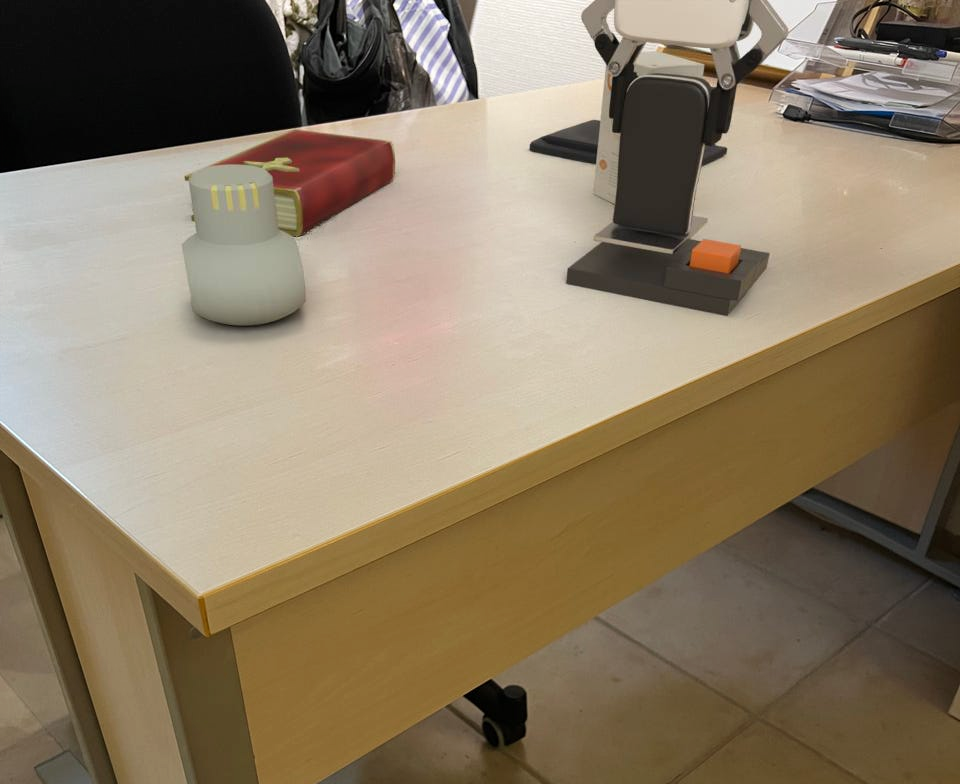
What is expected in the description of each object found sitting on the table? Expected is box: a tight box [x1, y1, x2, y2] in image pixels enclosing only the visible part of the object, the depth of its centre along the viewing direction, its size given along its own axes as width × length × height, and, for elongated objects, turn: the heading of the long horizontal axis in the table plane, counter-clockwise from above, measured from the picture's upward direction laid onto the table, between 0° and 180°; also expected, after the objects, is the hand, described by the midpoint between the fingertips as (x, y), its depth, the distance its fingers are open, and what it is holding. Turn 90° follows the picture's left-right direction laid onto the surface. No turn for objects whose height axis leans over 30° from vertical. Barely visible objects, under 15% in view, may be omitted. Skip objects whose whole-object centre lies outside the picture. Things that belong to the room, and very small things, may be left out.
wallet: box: [528, 119, 728, 166], centre depth 114 cm, size 20×2×15 cm
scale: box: [565, 238, 770, 317], centre depth 81 cm, size 14×13×3 cm
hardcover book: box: [184, 129, 396, 237], centre depth 95 cm, size 12×21×4 cm, turn 159°
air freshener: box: [181, 165, 307, 327], centre depth 70 cm, size 11×8×10 cm
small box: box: [592, 50, 705, 205], centre depth 95 cm, size 8×6×13 cm
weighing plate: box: [593, 215, 709, 255], centre depth 82 cm, size 7×10×1 cm
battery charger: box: [612, 73, 712, 234], centre depth 78 cm, size 7×4×11 cm, turn 66°
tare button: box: [690, 238, 742, 274], centre depth 76 cm, size 3×3×2 cm
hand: (666, 134), depth 77 cm, fingers closed on battery charger, 7 cm apart
